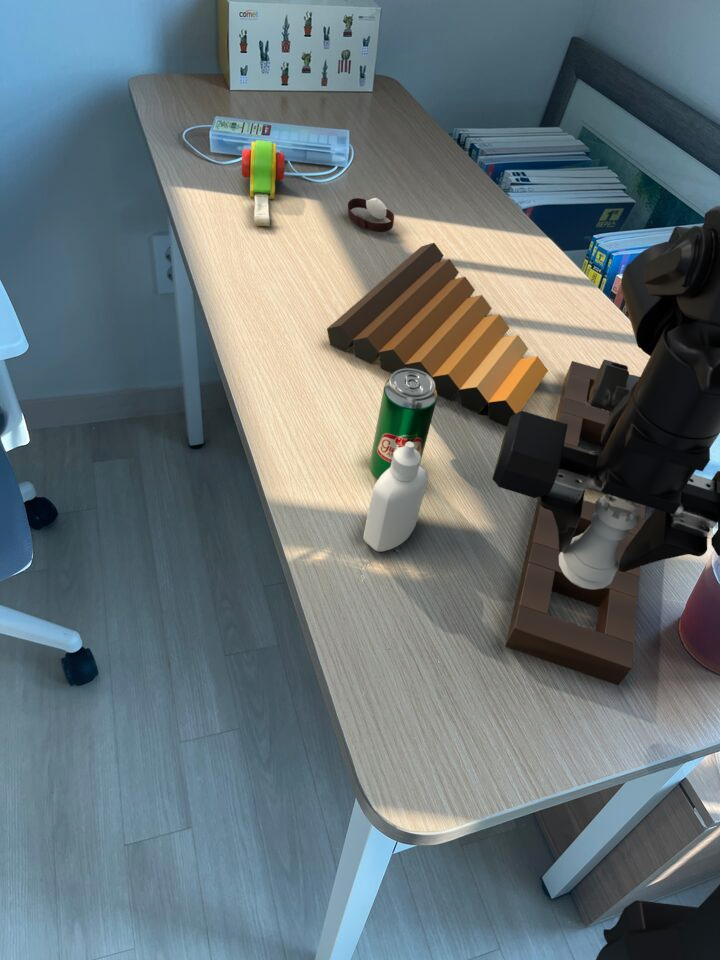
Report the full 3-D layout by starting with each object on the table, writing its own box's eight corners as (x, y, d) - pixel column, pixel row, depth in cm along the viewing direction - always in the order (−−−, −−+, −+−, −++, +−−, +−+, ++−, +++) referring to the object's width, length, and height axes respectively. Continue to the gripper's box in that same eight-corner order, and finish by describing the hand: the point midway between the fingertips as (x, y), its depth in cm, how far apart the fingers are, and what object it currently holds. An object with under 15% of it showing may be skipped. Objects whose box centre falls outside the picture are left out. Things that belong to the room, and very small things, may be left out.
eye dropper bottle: (355, 520, 73) (371, 430, 65) (409, 512, 75) (432, 423, 66) (367, 555, 70) (386, 466, 62) (423, 546, 72) (449, 458, 63)
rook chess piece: (545, 555, 60) (578, 488, 54) (589, 540, 62) (626, 473, 56) (578, 600, 57) (617, 535, 51) (623, 583, 59) (666, 518, 53)
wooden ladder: (618, 686, 64) (632, 668, 62) (504, 646, 66) (514, 628, 63) (645, 403, 91) (655, 384, 89) (564, 380, 93) (572, 360, 90)
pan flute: (418, 259, 108) (325, 342, 92) (422, 238, 105) (327, 319, 89) (582, 326, 101) (512, 429, 85) (591, 305, 98) (520, 406, 83)
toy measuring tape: (283, 168, 122) (284, 127, 117) (283, 230, 109) (285, 186, 104) (243, 165, 121) (243, 123, 116) (238, 227, 108) (238, 182, 103)
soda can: (367, 486, 76) (384, 397, 68) (370, 451, 80) (386, 362, 71) (416, 493, 77) (440, 404, 68) (417, 457, 80) (439, 369, 71)
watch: (399, 227, 113) (402, 204, 111) (382, 239, 110) (385, 216, 108) (356, 208, 116) (359, 186, 113) (339, 219, 113) (341, 196, 110)
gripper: (818, 374, 51) (712, 520, 62) (548, 299, 53) (494, 453, 65) (838, 486, 44) (713, 629, 55) (523, 393, 46) (466, 549, 57)
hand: (591, 557), depth 58 cm, fingers closed on rook chess piece, 4 cm apart
